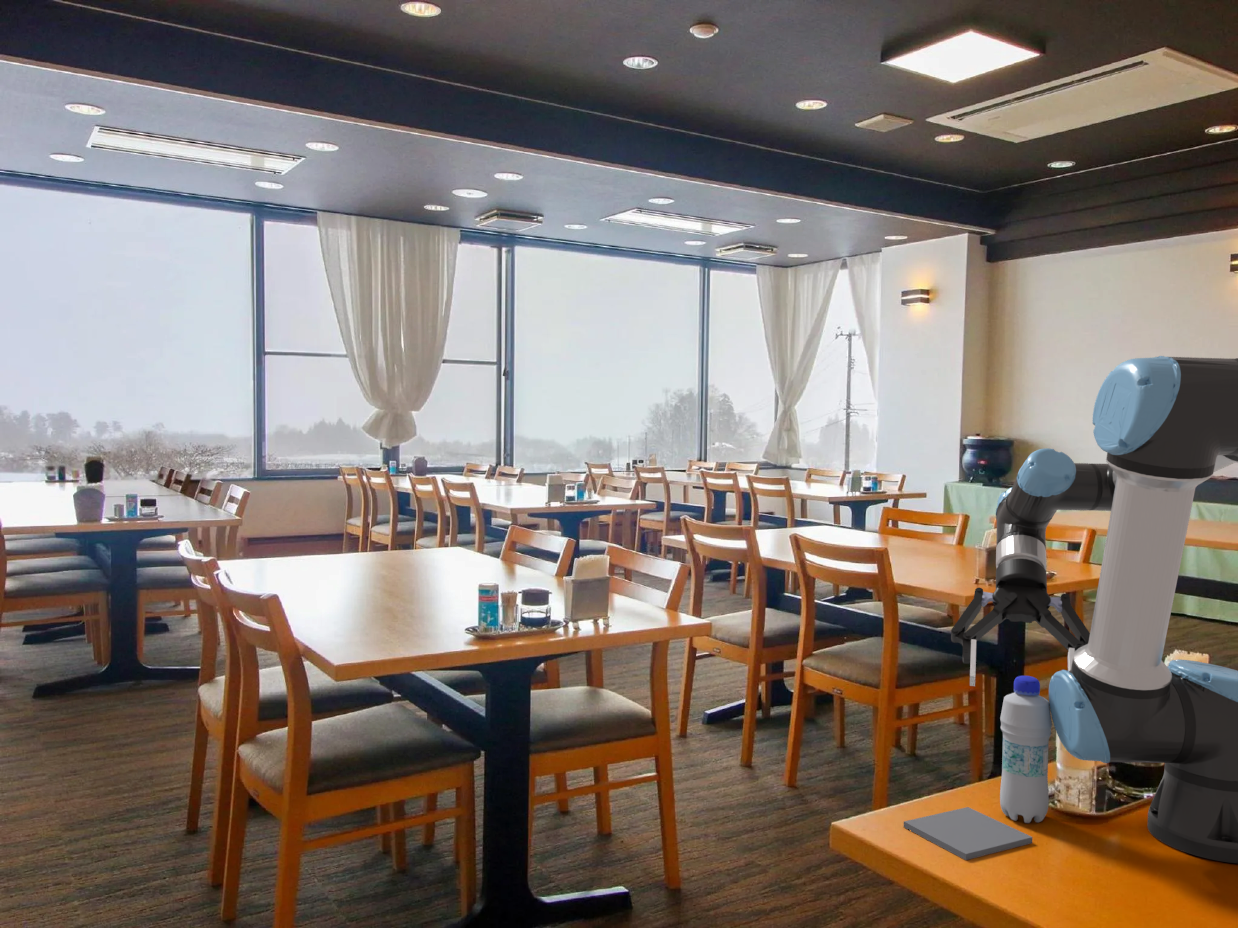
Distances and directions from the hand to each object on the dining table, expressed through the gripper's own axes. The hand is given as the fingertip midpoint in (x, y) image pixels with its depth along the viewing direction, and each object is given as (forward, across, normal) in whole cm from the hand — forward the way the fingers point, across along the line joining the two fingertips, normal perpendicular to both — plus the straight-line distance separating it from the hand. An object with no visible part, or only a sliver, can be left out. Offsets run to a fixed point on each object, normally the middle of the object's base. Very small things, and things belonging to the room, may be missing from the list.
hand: (1021, 686), depth 142 cm
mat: (+24, +7, 0) cm, 24 cm away
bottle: (+17, 0, -7) cm, 18 cm away
